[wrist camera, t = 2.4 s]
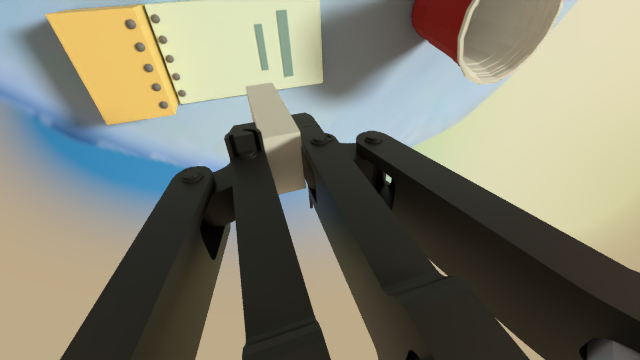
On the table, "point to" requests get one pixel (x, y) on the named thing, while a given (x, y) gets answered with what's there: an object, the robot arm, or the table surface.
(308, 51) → the pale green flat block
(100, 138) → the table surface
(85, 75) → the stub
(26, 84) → the table surface
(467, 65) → the plastic cup
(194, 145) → the table surface
